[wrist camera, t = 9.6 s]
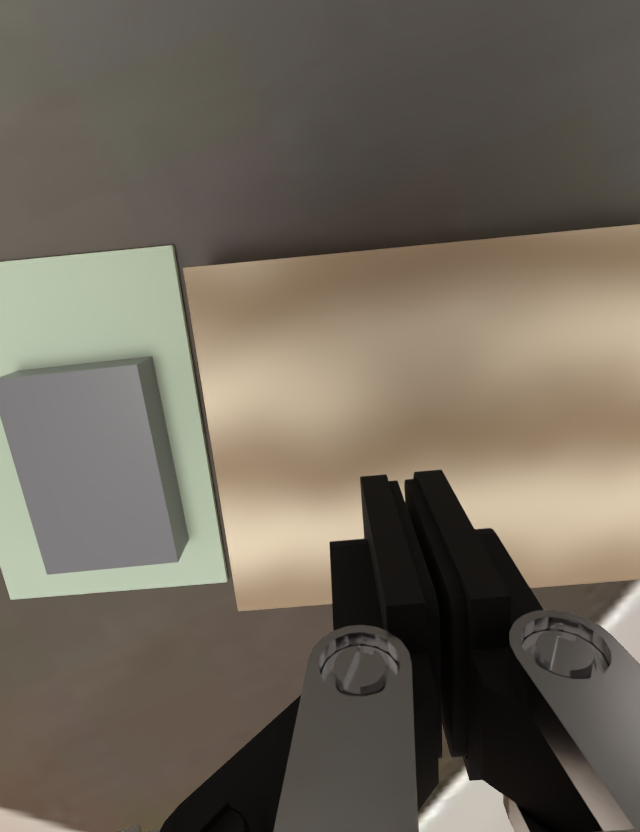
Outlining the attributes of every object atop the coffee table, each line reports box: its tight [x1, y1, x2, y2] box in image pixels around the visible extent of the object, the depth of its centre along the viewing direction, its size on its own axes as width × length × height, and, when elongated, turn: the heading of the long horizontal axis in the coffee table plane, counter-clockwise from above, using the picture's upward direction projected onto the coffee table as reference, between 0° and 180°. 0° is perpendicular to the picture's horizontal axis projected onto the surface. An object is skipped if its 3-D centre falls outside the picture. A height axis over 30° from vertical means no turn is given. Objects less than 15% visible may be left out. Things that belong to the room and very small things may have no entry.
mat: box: [0, 245, 228, 600], centre depth 24 cm, size 16×11×1 cm
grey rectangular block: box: [0, 356, 189, 575], centre depth 23 cm, size 9×6×2 cm, turn 6°
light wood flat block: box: [183, 224, 640, 611], centre depth 21 cm, size 14×18×4 cm
